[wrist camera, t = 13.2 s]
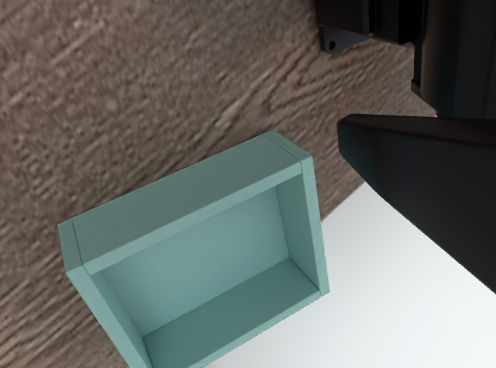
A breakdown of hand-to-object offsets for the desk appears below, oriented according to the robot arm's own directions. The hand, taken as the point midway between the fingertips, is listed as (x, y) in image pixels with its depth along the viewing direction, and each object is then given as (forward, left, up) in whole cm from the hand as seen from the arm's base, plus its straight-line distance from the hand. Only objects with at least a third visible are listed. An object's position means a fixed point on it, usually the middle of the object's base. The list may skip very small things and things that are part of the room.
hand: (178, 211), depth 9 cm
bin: (-2, +13, -13) cm, 18 cm away
